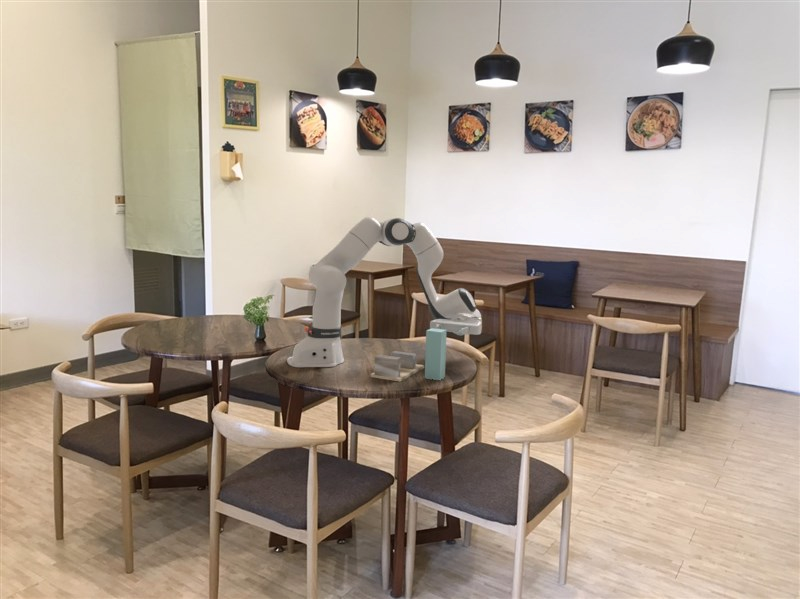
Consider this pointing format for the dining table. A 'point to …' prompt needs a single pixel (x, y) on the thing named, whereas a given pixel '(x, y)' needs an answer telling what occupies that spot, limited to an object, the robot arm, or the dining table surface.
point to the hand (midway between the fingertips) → (448, 330)
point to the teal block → (435, 354)
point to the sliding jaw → (405, 359)
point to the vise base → (402, 373)
